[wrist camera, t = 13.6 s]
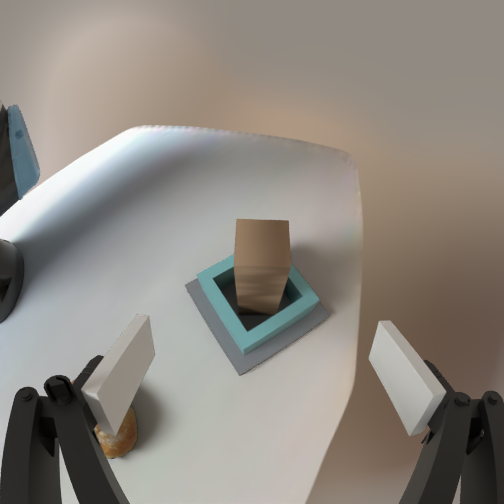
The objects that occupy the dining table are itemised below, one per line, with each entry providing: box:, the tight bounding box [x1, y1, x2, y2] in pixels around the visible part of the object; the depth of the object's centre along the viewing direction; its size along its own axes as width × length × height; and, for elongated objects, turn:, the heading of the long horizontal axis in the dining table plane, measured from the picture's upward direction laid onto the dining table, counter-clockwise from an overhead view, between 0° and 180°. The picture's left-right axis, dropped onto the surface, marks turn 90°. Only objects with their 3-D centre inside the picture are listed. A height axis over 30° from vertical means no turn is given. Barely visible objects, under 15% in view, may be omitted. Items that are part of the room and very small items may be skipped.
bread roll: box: [71, 379, 138, 459], centre depth 22 cm, size 10×10×8 cm
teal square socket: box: [185, 254, 330, 376], centre depth 29 cm, size 12×12×5 cm
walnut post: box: [234, 219, 291, 316], centre depth 25 cm, size 4×4×12 cm
